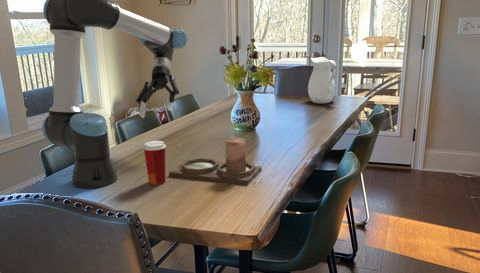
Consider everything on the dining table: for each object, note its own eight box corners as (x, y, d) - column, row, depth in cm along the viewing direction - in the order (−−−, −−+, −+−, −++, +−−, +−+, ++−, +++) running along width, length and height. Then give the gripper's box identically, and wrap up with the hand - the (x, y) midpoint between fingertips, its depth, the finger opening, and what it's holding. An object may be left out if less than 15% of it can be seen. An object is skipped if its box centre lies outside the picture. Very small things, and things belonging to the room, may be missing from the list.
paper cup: (169, 177, 158) (167, 139, 155) (167, 185, 151) (164, 146, 147) (147, 178, 158) (144, 140, 154) (143, 186, 151) (140, 147, 147)
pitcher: (303, 100, 291) (303, 57, 283) (326, 98, 295) (327, 56, 288) (320, 107, 269) (321, 60, 261) (345, 105, 273) (347, 59, 266)
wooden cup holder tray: (247, 184, 150) (246, 148, 146) (168, 176, 160) (166, 141, 157) (261, 170, 163) (260, 136, 160) (188, 163, 173) (186, 131, 170)
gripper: (190, 68, 188) (185, 110, 178) (143, 82, 199) (136, 123, 189) (180, 57, 182) (174, 101, 172) (132, 72, 193) (124, 114, 183)
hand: (154, 113), depth 181 cm, fingers open, 13 cm apart
